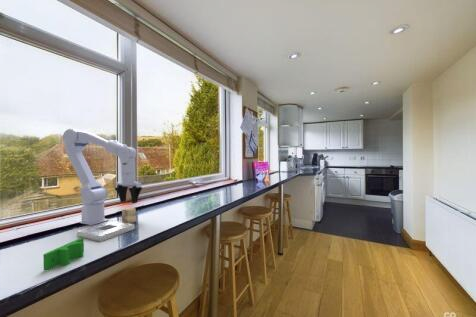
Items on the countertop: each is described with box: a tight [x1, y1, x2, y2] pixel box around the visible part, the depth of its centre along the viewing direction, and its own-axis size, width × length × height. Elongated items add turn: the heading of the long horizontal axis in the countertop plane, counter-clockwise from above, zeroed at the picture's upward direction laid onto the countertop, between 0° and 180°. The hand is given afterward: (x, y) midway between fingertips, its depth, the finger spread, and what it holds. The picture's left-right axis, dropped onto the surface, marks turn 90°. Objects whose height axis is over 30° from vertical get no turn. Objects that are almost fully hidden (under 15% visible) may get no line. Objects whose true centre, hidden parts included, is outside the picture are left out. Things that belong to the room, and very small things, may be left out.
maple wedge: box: [121, 207, 137, 224], centre depth 96 cm, size 4×4×6 cm
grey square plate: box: [76, 220, 135, 243], centre depth 82 cm, size 14×14×2 cm
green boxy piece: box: [43, 237, 85, 271], centre depth 60 cm, size 11×4×5 cm, turn 173°
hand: (128, 202), depth 96 cm, fingers open, 7 cm apart
